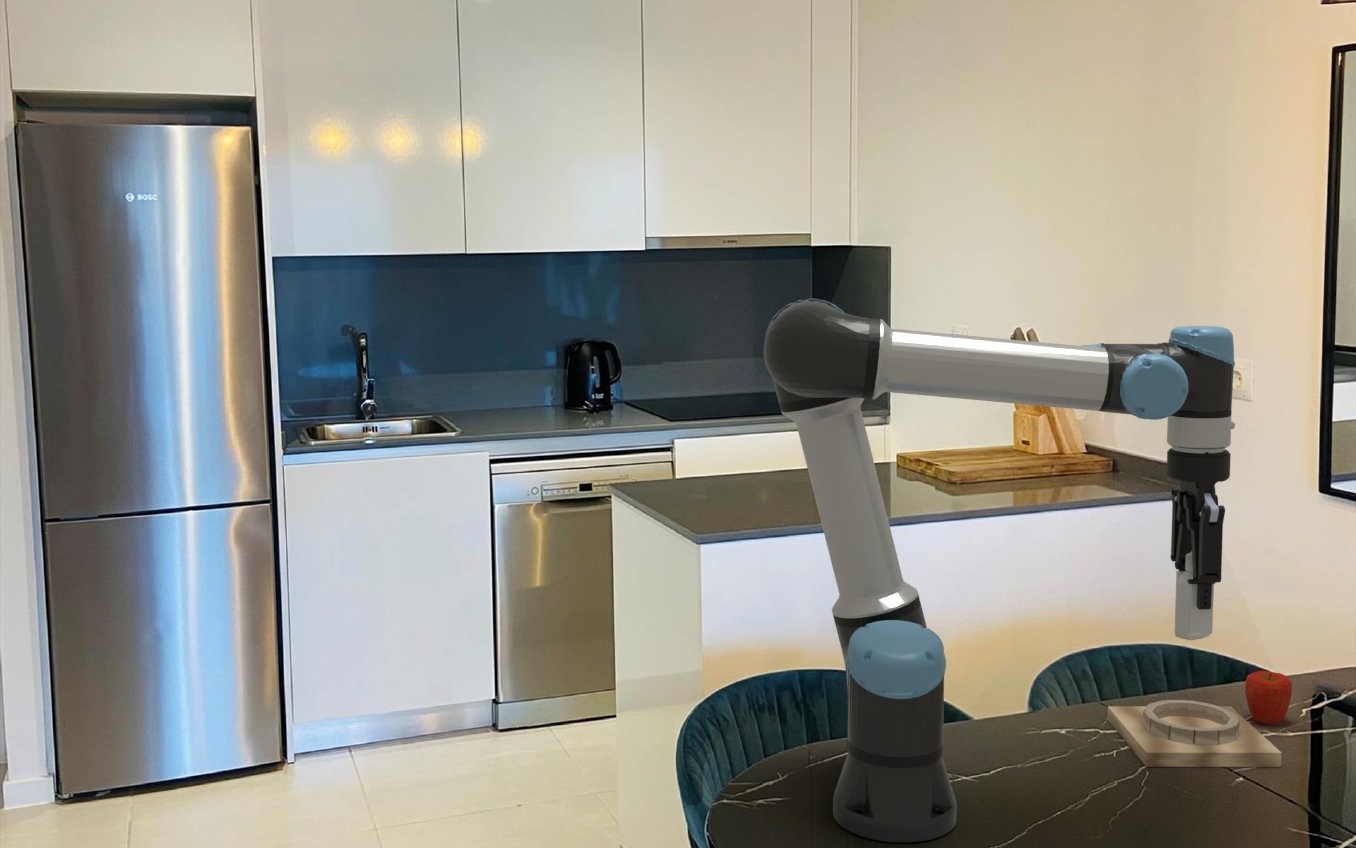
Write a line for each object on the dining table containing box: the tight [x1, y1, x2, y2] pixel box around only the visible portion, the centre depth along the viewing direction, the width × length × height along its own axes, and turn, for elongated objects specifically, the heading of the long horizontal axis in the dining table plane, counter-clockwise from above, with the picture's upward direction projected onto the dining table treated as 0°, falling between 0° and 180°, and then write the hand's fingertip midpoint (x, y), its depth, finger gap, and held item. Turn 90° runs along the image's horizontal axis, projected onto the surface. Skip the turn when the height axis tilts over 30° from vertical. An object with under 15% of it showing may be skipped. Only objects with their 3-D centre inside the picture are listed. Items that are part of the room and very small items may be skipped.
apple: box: [1244, 670, 1293, 725], centre depth 194 cm, size 6×6×8 cm
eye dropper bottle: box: [1174, 551, 1212, 641], centre depth 170 cm, size 4×6×12 cm
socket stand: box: [1106, 699, 1283, 768], centre depth 187 cm, size 18×18×4 cm
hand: (1193, 625), depth 170 cm, fingers closed on eye dropper bottle, 5 cm apart
